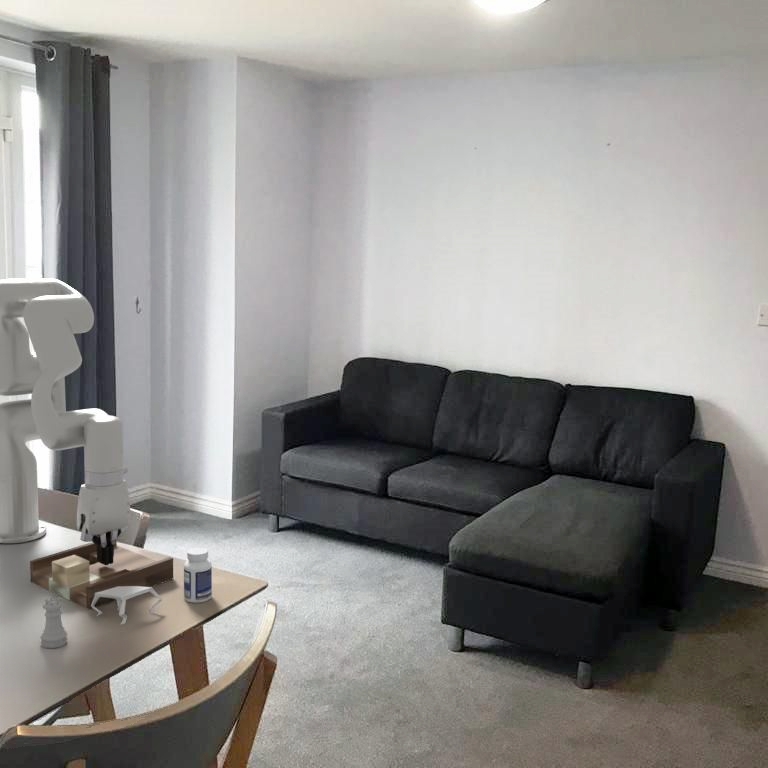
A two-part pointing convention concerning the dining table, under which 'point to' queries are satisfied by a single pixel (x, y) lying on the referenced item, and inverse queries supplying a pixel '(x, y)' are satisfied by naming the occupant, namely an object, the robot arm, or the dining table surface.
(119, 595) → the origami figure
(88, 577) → the maple block
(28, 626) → the dining table surface
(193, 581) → the pill bottle
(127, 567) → the board
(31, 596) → the dining table surface
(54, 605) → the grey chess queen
